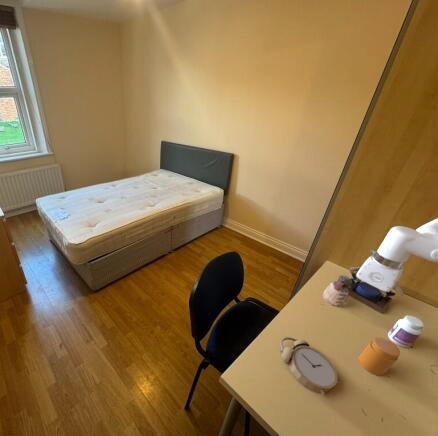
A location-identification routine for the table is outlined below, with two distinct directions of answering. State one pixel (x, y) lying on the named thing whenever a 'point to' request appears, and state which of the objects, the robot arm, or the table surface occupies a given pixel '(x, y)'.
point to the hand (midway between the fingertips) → (365, 294)
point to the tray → (370, 302)
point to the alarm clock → (309, 366)
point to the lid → (368, 290)
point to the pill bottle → (406, 331)
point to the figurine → (338, 291)
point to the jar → (379, 356)
